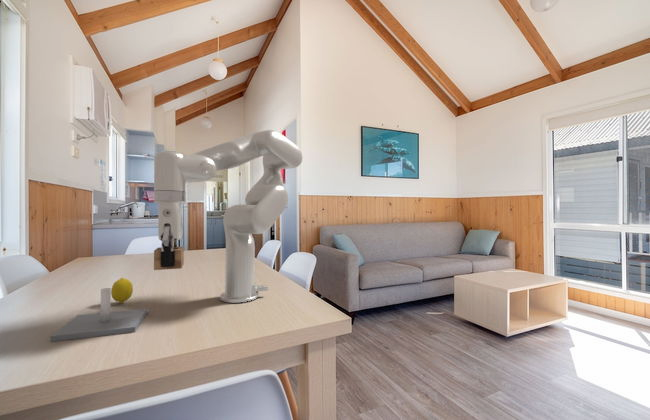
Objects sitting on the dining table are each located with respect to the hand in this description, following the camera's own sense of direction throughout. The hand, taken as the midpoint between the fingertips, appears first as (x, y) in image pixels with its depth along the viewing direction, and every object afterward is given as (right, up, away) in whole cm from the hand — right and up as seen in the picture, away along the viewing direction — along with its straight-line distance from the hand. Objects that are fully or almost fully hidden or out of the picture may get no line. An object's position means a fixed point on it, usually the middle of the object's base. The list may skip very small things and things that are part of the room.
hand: (169, 263), depth 79 cm
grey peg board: (-13, -15, -5) cm, 21 cm away
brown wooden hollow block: (0, -1, 0) cm, 1 cm away
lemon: (-21, -15, +12) cm, 29 cm away
